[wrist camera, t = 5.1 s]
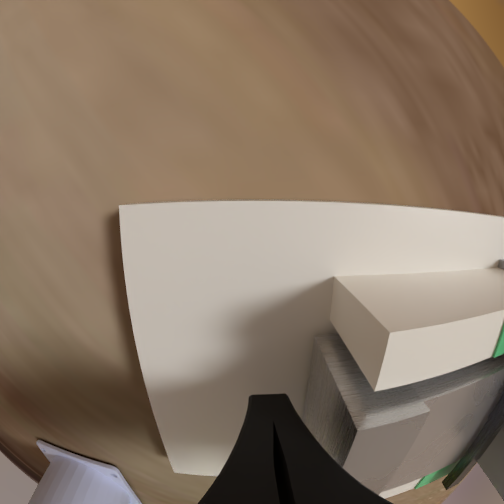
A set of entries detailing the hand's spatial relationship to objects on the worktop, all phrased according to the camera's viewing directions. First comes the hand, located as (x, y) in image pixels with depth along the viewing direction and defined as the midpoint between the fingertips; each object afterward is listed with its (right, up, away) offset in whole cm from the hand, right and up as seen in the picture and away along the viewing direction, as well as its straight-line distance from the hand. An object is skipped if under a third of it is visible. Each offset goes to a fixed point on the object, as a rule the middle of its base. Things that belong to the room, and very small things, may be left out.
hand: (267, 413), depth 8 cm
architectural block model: (+5, +1, +3) cm, 6 cm away
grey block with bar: (+6, 0, +1) cm, 6 cm away
